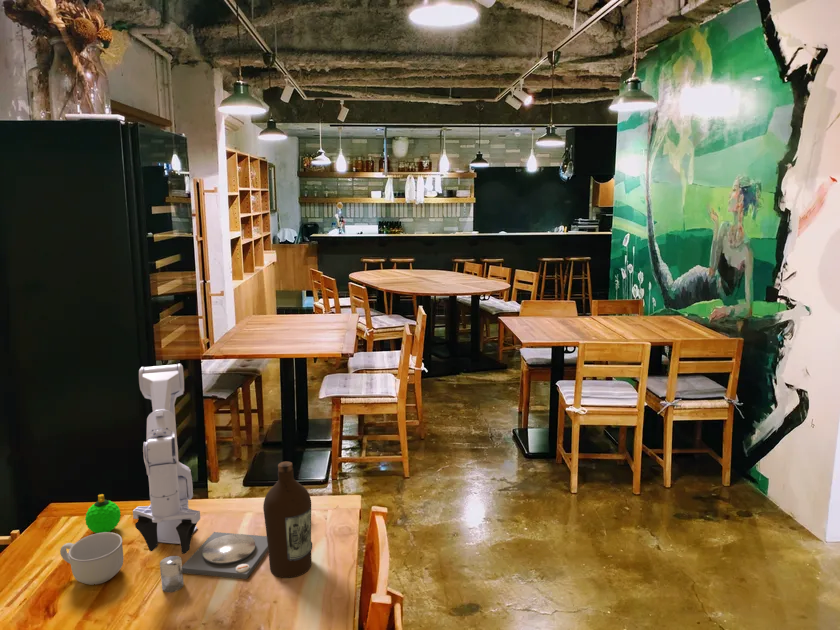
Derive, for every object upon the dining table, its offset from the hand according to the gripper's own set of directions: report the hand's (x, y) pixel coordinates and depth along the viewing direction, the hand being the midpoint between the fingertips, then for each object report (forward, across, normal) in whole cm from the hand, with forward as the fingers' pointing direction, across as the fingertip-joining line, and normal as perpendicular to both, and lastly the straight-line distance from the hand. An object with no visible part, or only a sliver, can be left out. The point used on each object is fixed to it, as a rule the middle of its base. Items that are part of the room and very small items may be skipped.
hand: (169, 550), depth 139 cm
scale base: (+9, +7, +13) cm, 17 cm away
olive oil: (+9, +23, +11) cm, 27 cm away
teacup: (+9, -20, +1) cm, 22 cm away
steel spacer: (+9, 0, 0) cm, 9 cm away
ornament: (+9, -30, +19) cm, 37 cm away
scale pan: (+7, +7, +13) cm, 16 cm away
